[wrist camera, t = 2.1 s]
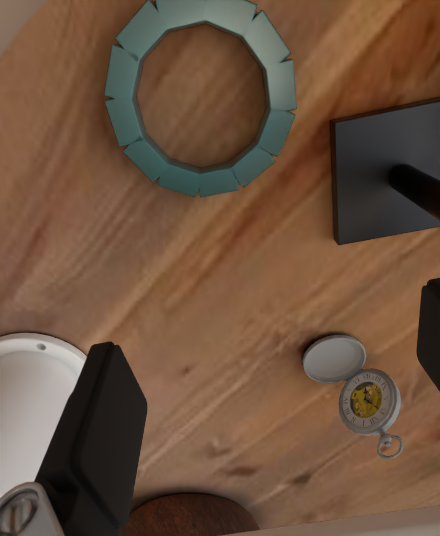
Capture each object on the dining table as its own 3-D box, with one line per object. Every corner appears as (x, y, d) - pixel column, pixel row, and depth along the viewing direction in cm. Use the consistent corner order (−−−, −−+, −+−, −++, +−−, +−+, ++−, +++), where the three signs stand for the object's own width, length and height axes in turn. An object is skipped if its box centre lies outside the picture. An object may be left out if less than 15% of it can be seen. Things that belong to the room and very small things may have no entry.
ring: (143, 201, 29) (140, 209, 27) (84, 17, 23) (75, 13, 21) (297, 171, 28) (302, 177, 27) (280, -30, 22) (286, -37, 20)
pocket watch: (309, 329, 36) (340, 413, 28) (387, 334, 37) (442, 417, 28) (292, 384, 41) (315, 472, 32) (363, 388, 41) (404, 475, 33)
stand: (333, 239, 31) (401, 336, 20) (329, 120, 26) (417, 163, 15) (450, 218, 31) (585, 306, 20) (468, 91, 26) (665, 114, 15)
